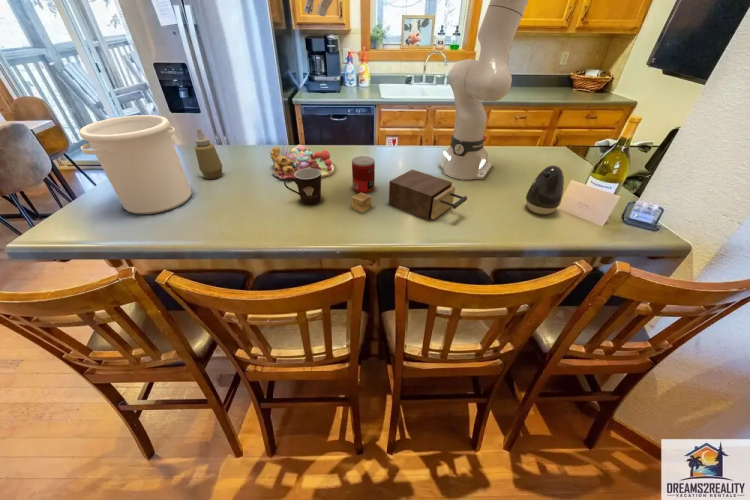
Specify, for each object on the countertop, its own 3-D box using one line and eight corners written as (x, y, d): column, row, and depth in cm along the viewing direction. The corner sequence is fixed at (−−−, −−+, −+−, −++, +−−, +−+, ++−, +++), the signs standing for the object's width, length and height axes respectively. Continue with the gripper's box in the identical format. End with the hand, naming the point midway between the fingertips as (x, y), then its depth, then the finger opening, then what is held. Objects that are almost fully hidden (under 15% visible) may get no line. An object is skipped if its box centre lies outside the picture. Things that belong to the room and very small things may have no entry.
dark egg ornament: (515, 208, 105) (529, 164, 96) (533, 200, 110) (548, 157, 101) (544, 221, 99) (561, 176, 90) (562, 212, 104) (580, 167, 95)
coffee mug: (328, 197, 111) (325, 170, 105) (316, 208, 105) (313, 180, 99) (298, 192, 114) (294, 165, 108) (285, 203, 108) (280, 175, 102)
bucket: (137, 227, 95) (93, 143, 80) (102, 207, 105) (57, 128, 90) (213, 194, 112) (188, 120, 97) (177, 179, 122) (149, 110, 107)
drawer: (467, 211, 102) (471, 191, 98) (449, 225, 95) (453, 205, 91) (415, 192, 112) (417, 174, 108) (396, 204, 105) (397, 185, 101)
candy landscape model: (281, 187, 117) (276, 163, 112) (264, 165, 133) (259, 143, 128) (342, 173, 127) (341, 150, 122) (319, 155, 144) (317, 134, 138)
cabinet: (448, 205, 107) (452, 182, 102) (428, 220, 99) (431, 195, 94) (410, 191, 115) (412, 169, 110) (388, 204, 107) (389, 181, 102)
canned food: (372, 194, 113) (372, 165, 106) (350, 192, 114) (349, 163, 107) (376, 185, 119) (376, 156, 112) (355, 183, 120) (354, 155, 113)
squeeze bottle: (197, 178, 123) (181, 130, 112) (213, 170, 129) (199, 124, 118) (214, 182, 120) (198, 133, 110) (229, 174, 126) (216, 127, 116)
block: (361, 203, 107) (361, 192, 105) (371, 208, 105) (371, 196, 103) (352, 208, 105) (351, 196, 102) (362, 213, 102) (362, 201, 100)
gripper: (364, -46, 69) (341, 24, 74) (328, -41, 83) (311, 18, 88) (340, -67, 65) (317, 8, 70) (307, -58, 79) (289, 5, 84)
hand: (313, 13), depth 79 cm, fingers open, 8 cm apart
